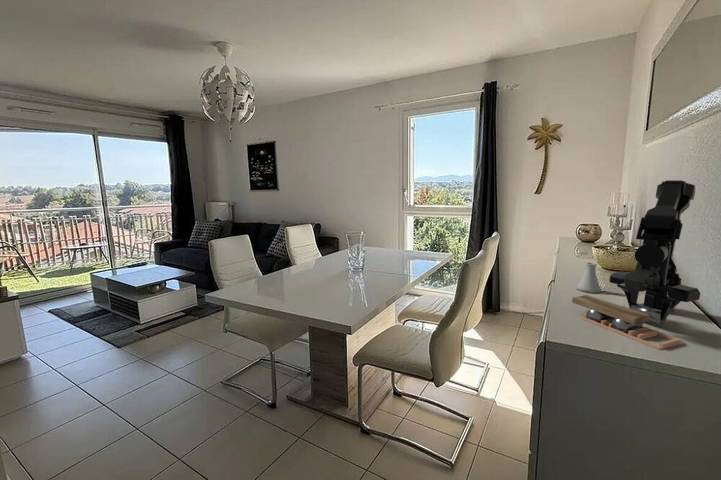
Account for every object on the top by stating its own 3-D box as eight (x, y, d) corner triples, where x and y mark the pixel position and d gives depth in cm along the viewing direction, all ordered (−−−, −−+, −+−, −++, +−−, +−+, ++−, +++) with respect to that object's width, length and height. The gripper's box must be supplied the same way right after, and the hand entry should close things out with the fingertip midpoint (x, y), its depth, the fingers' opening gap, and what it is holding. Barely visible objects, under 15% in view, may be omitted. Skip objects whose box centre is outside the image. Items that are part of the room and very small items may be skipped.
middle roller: (629, 327, 93) (627, 314, 93) (643, 329, 90) (641, 316, 90) (612, 331, 91) (610, 318, 91) (626, 333, 87) (624, 320, 88)
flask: (592, 294, 118) (595, 267, 116) (572, 288, 125) (574, 262, 123) (605, 291, 121) (608, 264, 119) (585, 286, 127) (587, 260, 126)
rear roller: (605, 319, 99) (601, 307, 100) (617, 318, 96) (613, 306, 97) (588, 322, 97) (584, 310, 98) (599, 322, 94) (596, 309, 94)
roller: (636, 315, 98) (639, 303, 98) (664, 324, 91) (668, 312, 91) (628, 314, 97) (631, 302, 96) (656, 324, 90) (660, 311, 90)
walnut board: (586, 299, 104) (586, 294, 104) (649, 320, 88) (649, 314, 88) (571, 302, 102) (572, 297, 101) (633, 324, 86) (634, 318, 86)
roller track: (603, 314, 101) (603, 310, 101) (683, 343, 83) (684, 338, 83) (580, 318, 98) (581, 314, 98) (659, 349, 80) (660, 345, 80)
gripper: (599, 255, 97) (593, 307, 100) (678, 271, 80) (668, 333, 82) (625, 252, 101) (618, 302, 103) (706, 267, 84) (696, 326, 86)
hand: (646, 315), depth 94 cm, fingers closed on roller, 7 cm apart
